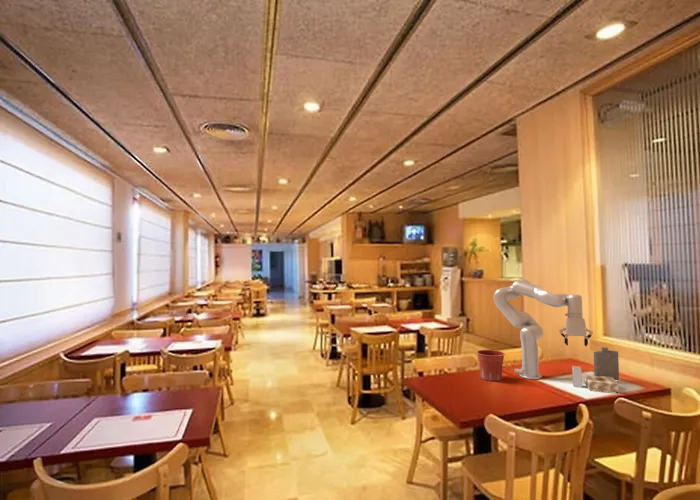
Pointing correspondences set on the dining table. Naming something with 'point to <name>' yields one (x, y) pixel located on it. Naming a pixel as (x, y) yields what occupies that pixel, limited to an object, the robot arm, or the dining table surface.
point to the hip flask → (606, 363)
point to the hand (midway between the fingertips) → (576, 345)
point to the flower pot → (491, 364)
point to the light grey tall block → (576, 376)
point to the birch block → (601, 383)
